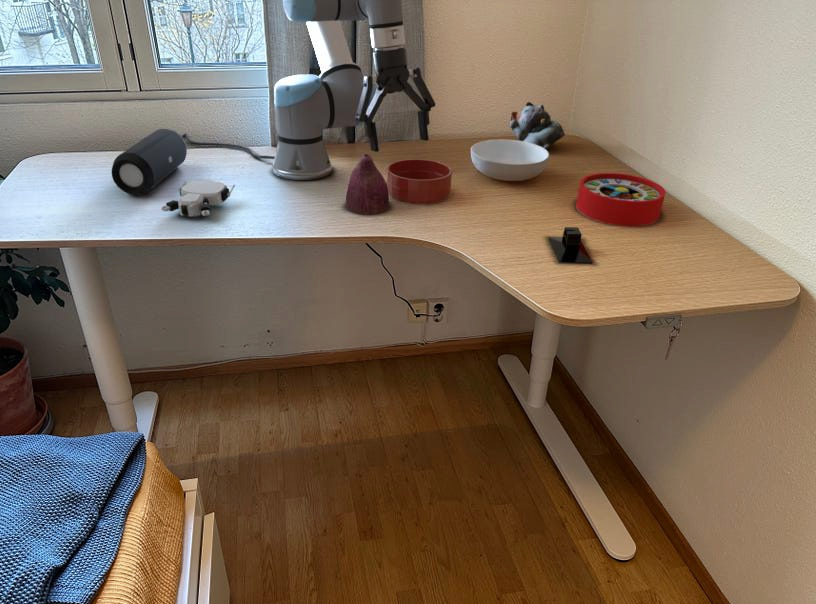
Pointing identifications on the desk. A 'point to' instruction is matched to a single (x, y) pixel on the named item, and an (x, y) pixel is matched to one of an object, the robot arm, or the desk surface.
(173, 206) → the robot toy
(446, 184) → the red round tray
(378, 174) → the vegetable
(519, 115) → the lucky cat figurine
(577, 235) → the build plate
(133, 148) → the portable speaker
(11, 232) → the desk surface
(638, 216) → the toy clock
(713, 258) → the desk surface
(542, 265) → the desk surface
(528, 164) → the serving bowl
